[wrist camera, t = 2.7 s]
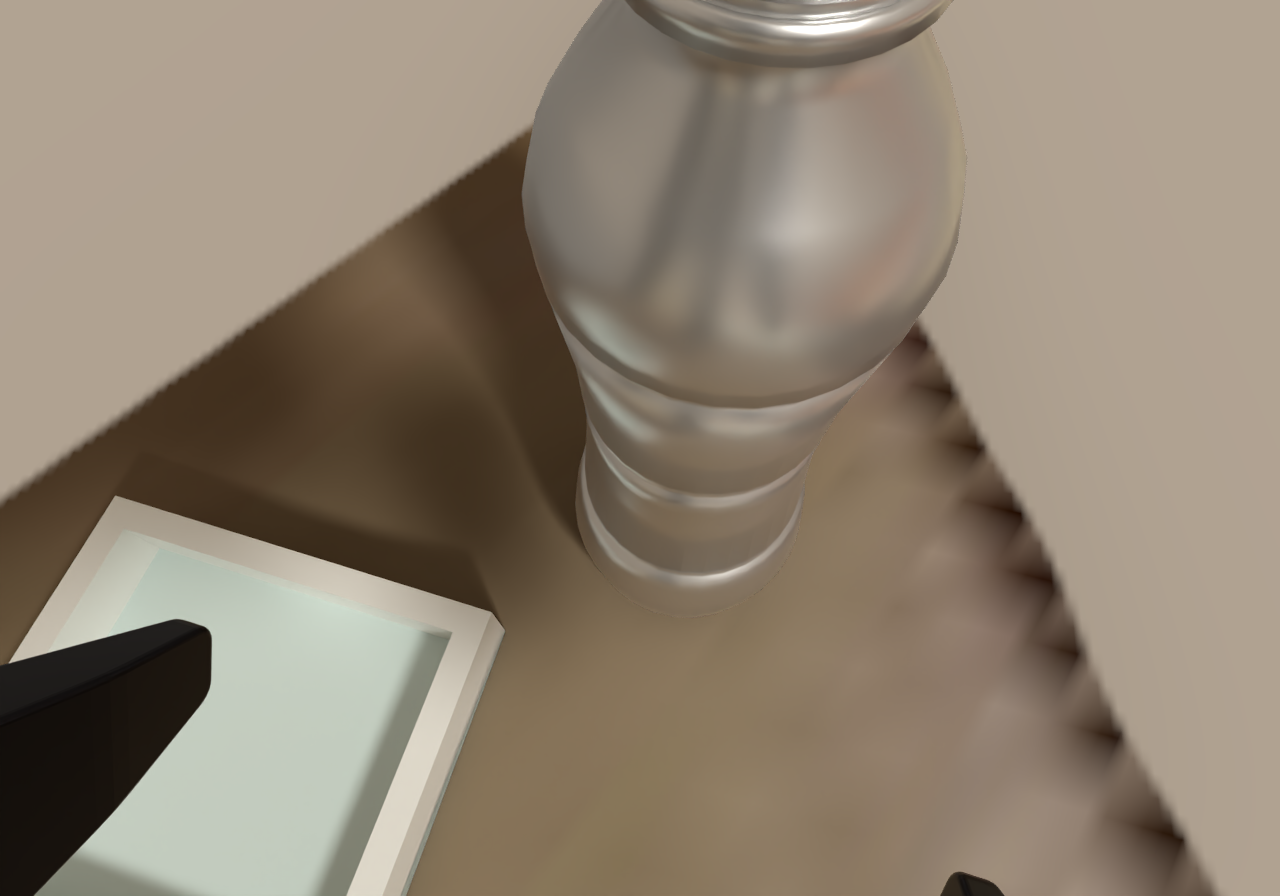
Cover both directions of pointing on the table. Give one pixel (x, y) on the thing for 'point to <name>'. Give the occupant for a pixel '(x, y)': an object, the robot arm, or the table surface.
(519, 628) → the table surface
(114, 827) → the tray
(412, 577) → the table surface
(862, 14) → the plastic bottle
